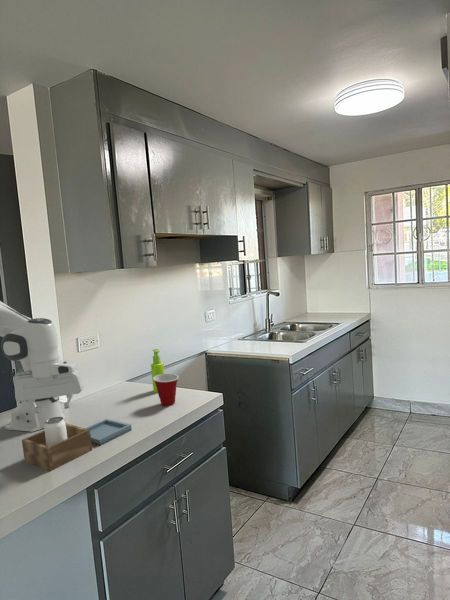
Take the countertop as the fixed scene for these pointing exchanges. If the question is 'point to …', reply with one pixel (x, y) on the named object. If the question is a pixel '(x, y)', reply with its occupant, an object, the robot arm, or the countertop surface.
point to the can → (55, 430)
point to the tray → (107, 431)
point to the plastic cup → (166, 388)
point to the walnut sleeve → (57, 448)
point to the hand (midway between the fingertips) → (52, 410)
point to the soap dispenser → (156, 367)
